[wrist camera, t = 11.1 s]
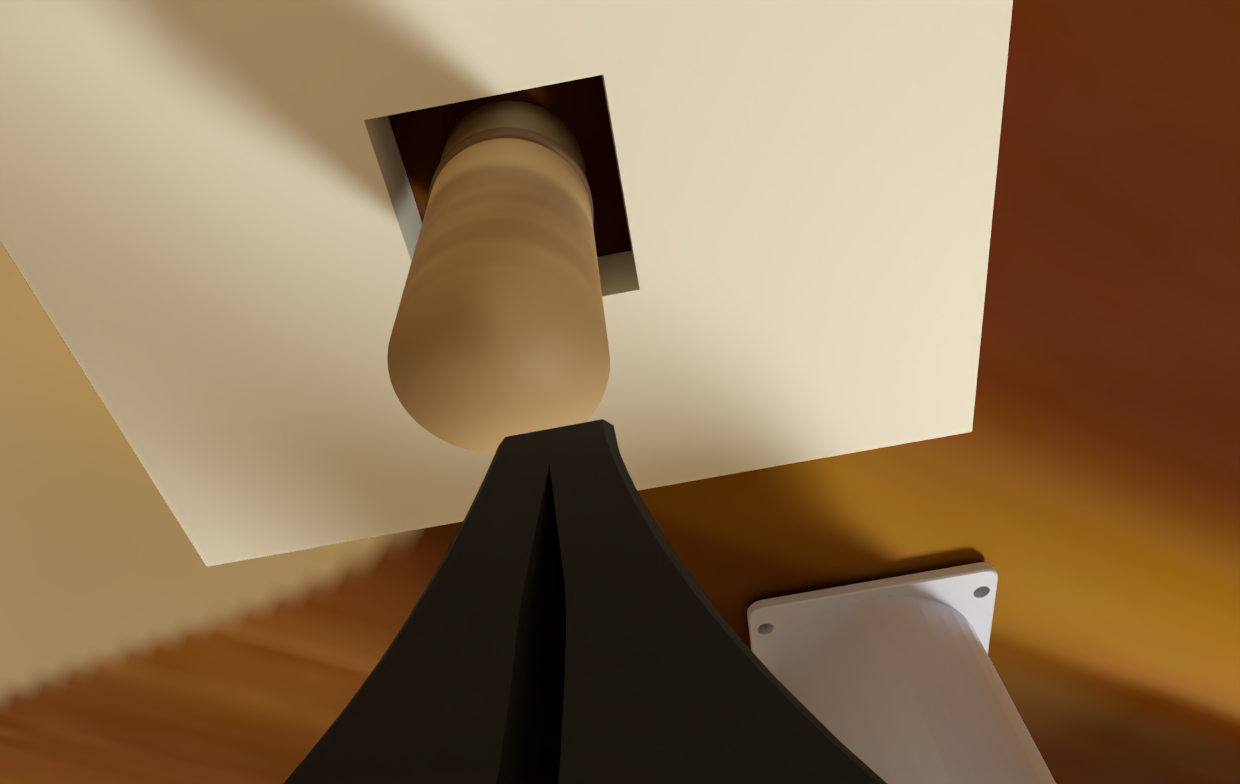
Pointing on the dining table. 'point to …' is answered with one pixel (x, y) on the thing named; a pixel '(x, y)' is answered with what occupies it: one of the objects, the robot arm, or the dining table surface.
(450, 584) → the robot arm
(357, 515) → the board
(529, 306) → the peg
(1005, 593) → the dining table surface
